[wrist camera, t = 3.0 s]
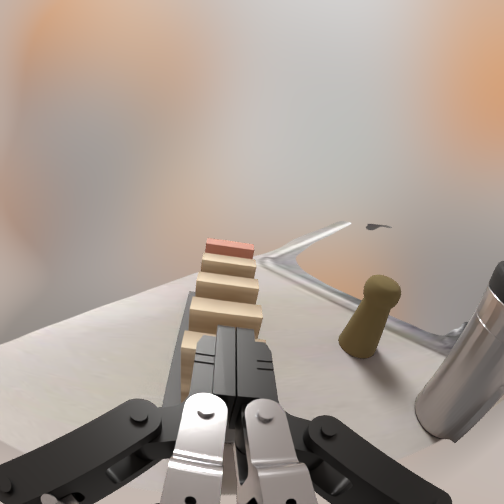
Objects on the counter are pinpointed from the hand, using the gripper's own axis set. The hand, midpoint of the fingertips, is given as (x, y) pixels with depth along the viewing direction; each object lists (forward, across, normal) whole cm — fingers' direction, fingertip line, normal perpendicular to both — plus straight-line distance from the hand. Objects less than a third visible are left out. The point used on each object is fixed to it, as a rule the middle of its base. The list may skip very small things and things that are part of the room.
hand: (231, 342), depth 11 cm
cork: (+18, -20, +16) cm, 32 cm away
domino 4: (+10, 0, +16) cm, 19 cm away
